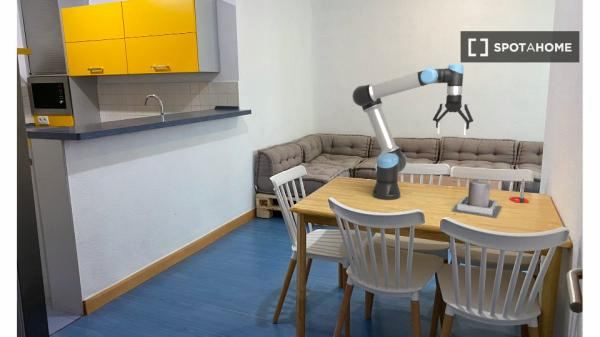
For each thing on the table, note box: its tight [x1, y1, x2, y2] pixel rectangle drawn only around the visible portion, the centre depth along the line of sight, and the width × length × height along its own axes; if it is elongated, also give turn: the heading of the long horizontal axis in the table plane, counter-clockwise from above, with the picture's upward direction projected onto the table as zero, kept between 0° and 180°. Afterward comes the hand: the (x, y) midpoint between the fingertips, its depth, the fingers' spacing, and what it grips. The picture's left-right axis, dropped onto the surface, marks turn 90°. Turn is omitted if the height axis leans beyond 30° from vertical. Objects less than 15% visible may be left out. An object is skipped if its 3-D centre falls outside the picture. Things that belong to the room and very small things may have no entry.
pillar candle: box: [467, 178, 492, 208], centre depth 202 cm, size 10×10×15 cm
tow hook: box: [509, 178, 530, 204], centre depth 216 cm, size 8×13×9 cm
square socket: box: [451, 195, 503, 219], centre depth 203 cm, size 20×18×4 cm
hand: (451, 134), depth 219 cm, fingers open, 13 cm apart
